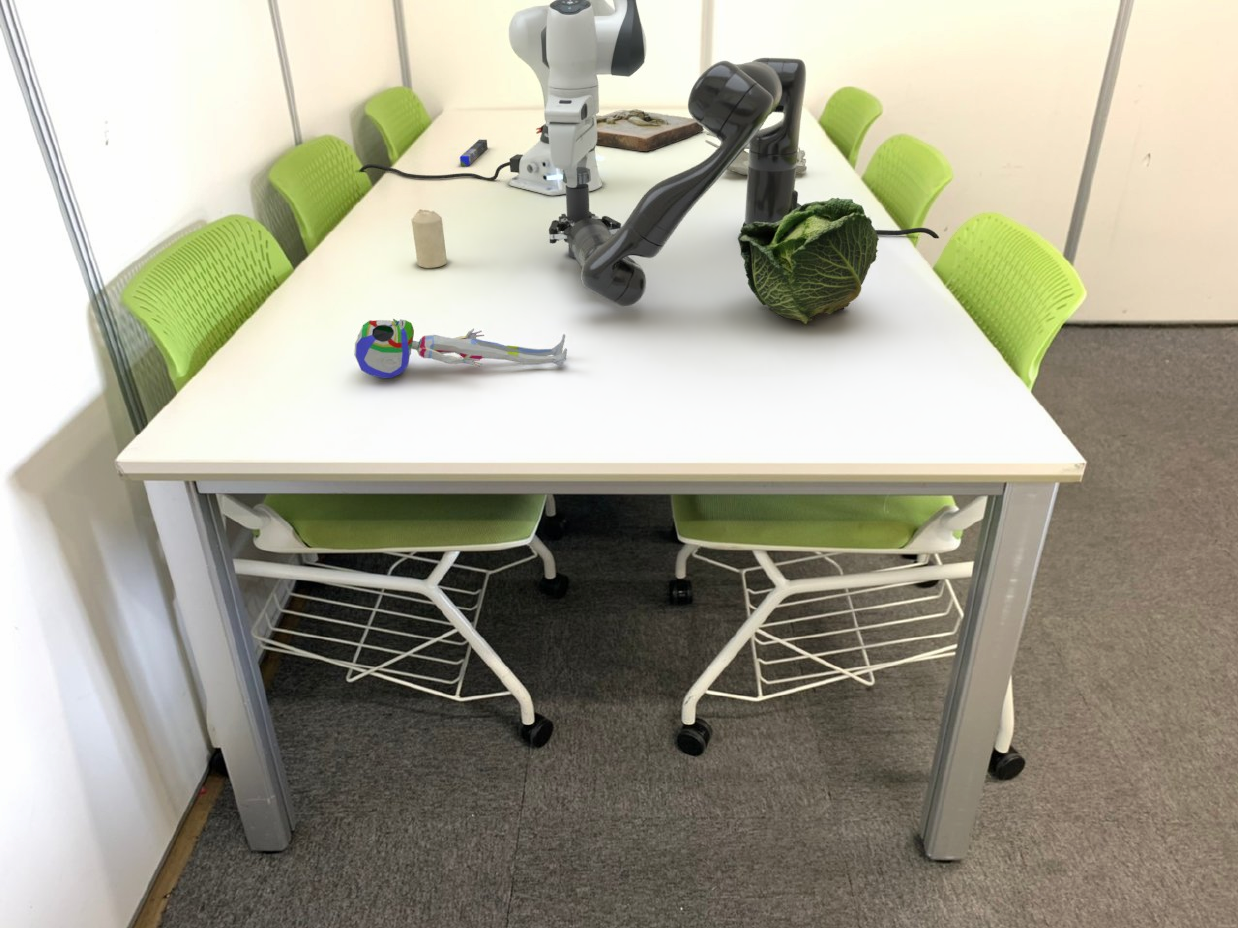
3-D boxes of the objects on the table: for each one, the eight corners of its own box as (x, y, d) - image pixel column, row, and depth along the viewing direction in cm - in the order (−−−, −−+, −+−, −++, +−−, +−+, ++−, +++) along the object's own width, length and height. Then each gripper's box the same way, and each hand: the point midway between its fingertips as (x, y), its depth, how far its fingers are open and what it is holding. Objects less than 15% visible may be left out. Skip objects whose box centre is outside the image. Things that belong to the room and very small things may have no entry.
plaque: (647, 125, 237) (559, 112, 252) (647, 153, 241) (560, 139, 256) (706, 107, 258) (622, 97, 273) (705, 133, 262) (622, 121, 277)
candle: (452, 259, 172) (446, 207, 166) (438, 269, 167) (431, 216, 162) (426, 257, 173) (419, 205, 168) (412, 266, 169) (404, 213, 163)
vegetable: (766, 338, 156) (713, 238, 148) (856, 276, 157) (807, 174, 149) (821, 359, 137) (763, 246, 129) (922, 289, 138) (870, 173, 131)
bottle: (590, 251, 175) (587, 173, 167) (591, 258, 172) (588, 179, 164) (568, 251, 175) (565, 173, 167) (569, 259, 171) (565, 179, 163)
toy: (569, 347, 126) (349, 329, 122) (563, 400, 131) (350, 385, 126) (565, 318, 135) (359, 301, 130) (559, 369, 139) (360, 354, 134)
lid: (587, 176, 168) (587, 166, 167) (593, 183, 164) (593, 172, 163) (560, 178, 167) (560, 168, 166) (565, 186, 163) (565, 175, 162)
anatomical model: (707, 129, 226) (808, 127, 222) (707, 166, 231) (805, 165, 227) (703, 143, 213) (809, 141, 210) (703, 182, 218) (807, 181, 215)
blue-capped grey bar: (486, 139, 247) (467, 157, 231) (487, 147, 249) (468, 166, 232) (479, 139, 248) (459, 157, 231) (479, 147, 249) (460, 166, 232)
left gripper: (571, 91, 168) (574, 167, 175) (541, 113, 151) (545, 196, 158) (604, 92, 166) (606, 168, 174) (577, 114, 149) (580, 197, 157)
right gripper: (632, 221, 157) (611, 195, 171) (552, 228, 155) (537, 201, 169) (633, 262, 161) (612, 233, 175) (554, 270, 159) (540, 240, 173)
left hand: (577, 182), depth 166 cm, fingers closed on lid, 5 cm apart
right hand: (575, 217), depth 172 cm, fingers closed on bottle, 4 cm apart
